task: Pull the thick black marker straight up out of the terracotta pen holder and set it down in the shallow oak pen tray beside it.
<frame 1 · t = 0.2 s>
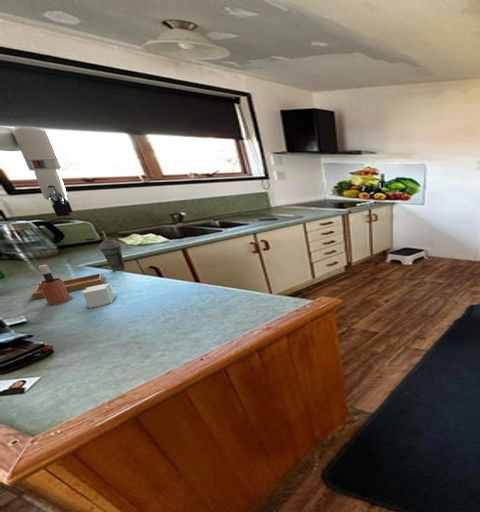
hand: (65, 214, 100), 32 cm above the counter, tool pointing down, fingers open, 9 cm apart
pen tray: (71, 287, 115), on the counter
white cube: (102, 302, 102), on the counter
marker: (59, 299, 104), point 1 cm above the counter, touching pen holder
pen holder: (59, 301, 104), on the counter
beverage cup: (119, 270, 134), on the counter
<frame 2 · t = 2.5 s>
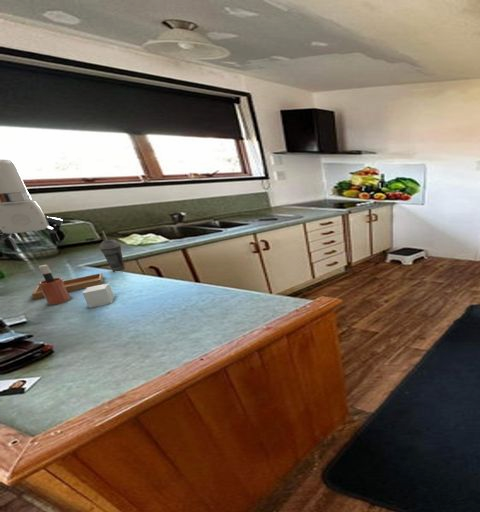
hand: (36, 246, 97), 22 cm above the counter, tool pointing down, fingers open, 9 cm apart
nothing on the counter moved.
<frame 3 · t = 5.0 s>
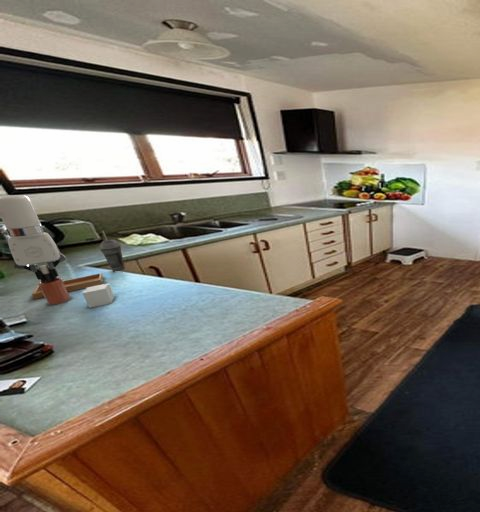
hand: (49, 279, 101), 9 cm above the counter, tool pointing down, fingers closed on marker, 2 cm apart
marker: (59, 299, 104), point 1 cm above the counter, touching gripper
everything else where it was.
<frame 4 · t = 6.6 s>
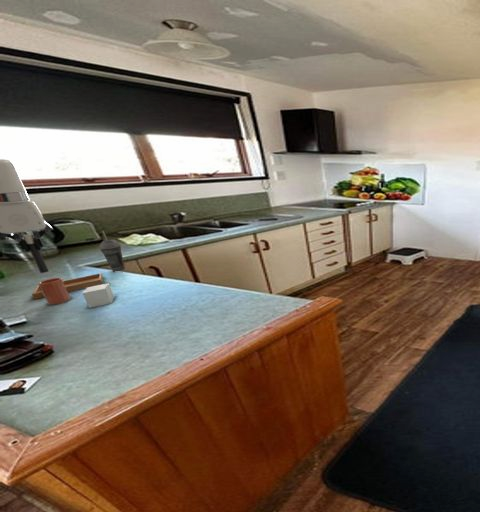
hand: (34, 249, 97), 21 cm above the counter, tool pointing down, fingers closed on marker
marker: (44, 271, 100), point 12 cm above the counter, touching gripper
everything else where it was.
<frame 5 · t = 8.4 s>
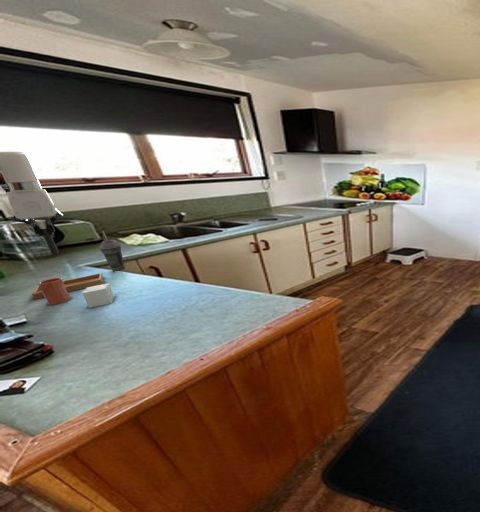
hand: (46, 234, 107), 24 cm above the counter, tool pointing down, fingers closed on marker
marker: (55, 254, 110), point 15 cm above the counter, touching gripper
everything else where it was.
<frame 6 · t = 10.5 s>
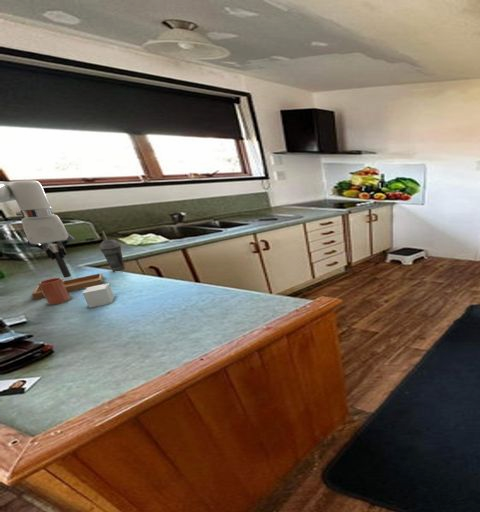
hand: (58, 257, 111), 14 cm above the counter, tool pointing down, fingers closed on marker
marker: (67, 276, 114), point 5 cm above the counter, touching gripper
everything else where it was.
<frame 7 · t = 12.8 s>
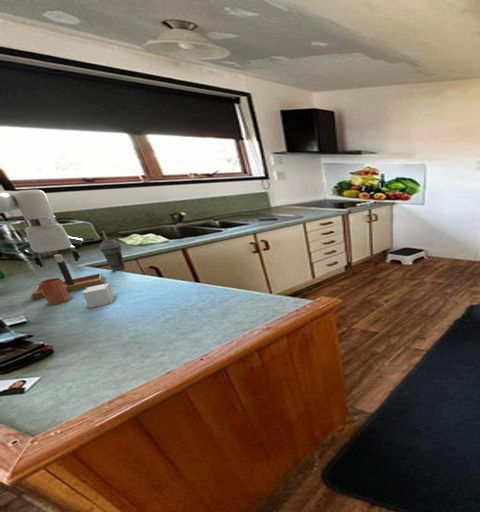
hand: (60, 263, 112), 11 cm above the counter, tool pointing down, fingers open, 9 cm apart
marker: (71, 285, 115), point 1 cm above the counter, touching pen tray
everything else where it was.
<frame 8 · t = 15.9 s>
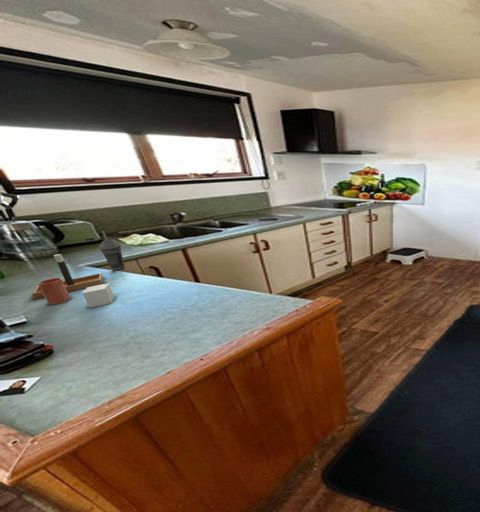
nothing on the counter moved.
at the end: marker inside the target area in the pen tray (0.1 cm from its centre), point 0.8 cm above the pen tray's base; the gripper is holding nothing; marker moved 15.1 cm from its start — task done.
